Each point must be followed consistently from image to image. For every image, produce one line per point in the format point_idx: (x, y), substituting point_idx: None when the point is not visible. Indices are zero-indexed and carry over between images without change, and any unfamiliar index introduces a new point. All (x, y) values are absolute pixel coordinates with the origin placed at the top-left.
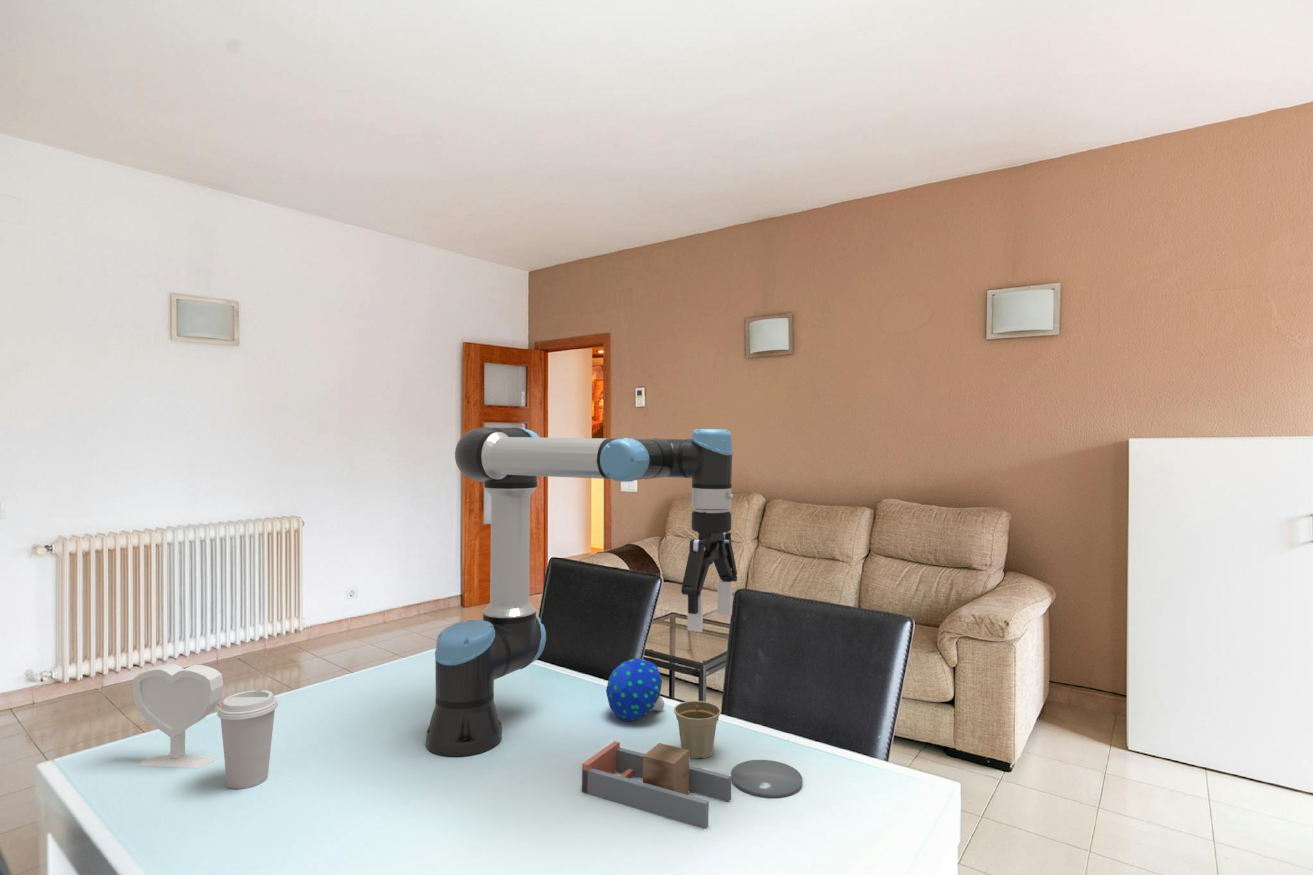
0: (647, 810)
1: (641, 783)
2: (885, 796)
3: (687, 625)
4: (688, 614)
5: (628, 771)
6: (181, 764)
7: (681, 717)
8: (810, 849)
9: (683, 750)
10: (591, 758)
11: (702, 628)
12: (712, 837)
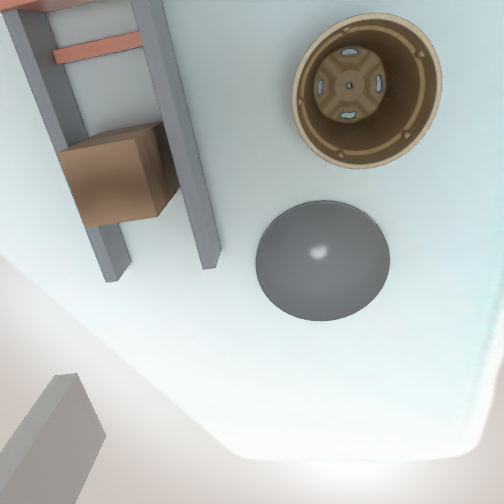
0: None
1: None
2: (381, 407)
3: (39, 397)
4: (1, 462)
5: (137, 39)
6: None
7: (292, 88)
8: (186, 380)
9: (146, 208)
10: None
11: (99, 448)
12: None
